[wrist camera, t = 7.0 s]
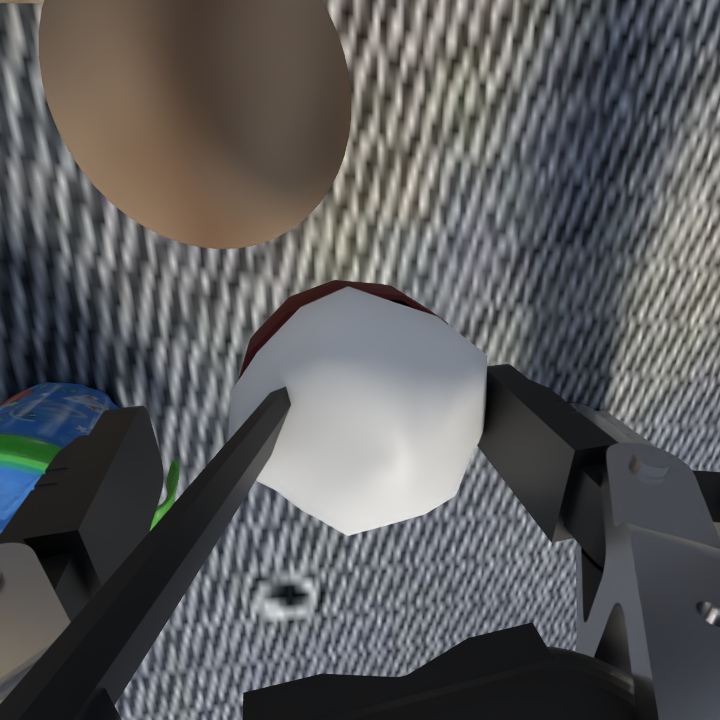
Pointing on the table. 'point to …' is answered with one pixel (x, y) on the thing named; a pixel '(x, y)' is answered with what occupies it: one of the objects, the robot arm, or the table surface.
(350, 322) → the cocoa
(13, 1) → the shallow rimmed tray
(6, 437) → the snack cup
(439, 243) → the table surface
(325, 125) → the tan spool shaped stand
